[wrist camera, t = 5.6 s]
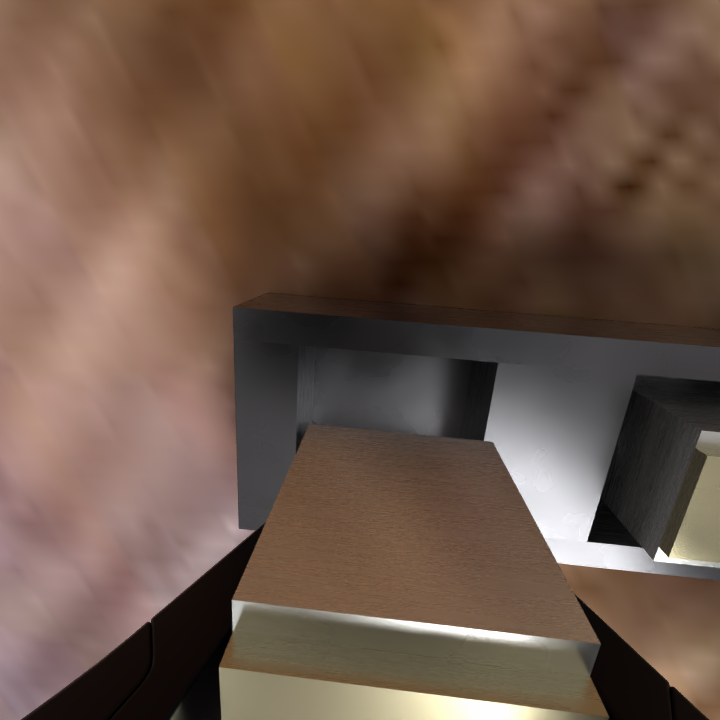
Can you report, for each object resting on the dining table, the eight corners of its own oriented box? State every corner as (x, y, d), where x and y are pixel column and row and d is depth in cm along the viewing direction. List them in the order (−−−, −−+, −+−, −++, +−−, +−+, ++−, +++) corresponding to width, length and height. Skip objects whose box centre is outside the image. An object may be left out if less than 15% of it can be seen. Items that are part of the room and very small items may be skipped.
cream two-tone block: (492, 441, 9) (621, 683, 4) (464, 586, 10) (536, 906, 5) (309, 423, 9) (217, 633, 4) (303, 568, 10) (228, 860, 5)
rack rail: (810, 336, 14) (945, 365, 11) (732, 520, 16) (822, 591, 13) (267, 293, 15) (233, 307, 11) (267, 473, 17) (238, 528, 14)
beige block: (721, 383, 14) (892, 454, 9) (684, 481, 15) (819, 588, 11) (604, 373, 14) (714, 437, 9) (577, 471, 15) (663, 572, 11)
